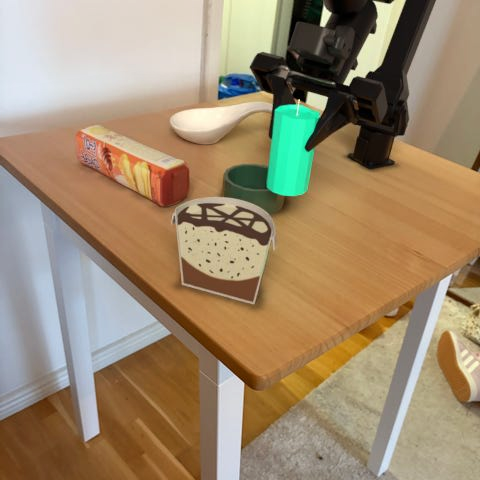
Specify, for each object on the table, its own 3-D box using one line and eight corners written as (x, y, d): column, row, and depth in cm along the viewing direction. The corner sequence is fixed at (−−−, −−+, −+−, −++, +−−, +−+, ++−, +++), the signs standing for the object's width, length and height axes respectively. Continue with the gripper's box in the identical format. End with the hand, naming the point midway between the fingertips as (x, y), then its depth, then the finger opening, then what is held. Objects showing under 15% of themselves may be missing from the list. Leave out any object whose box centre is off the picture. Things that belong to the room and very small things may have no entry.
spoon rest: (169, 149, 96) (169, 109, 92) (169, 126, 105) (169, 88, 101) (296, 155, 99) (302, 116, 95) (286, 132, 108) (291, 95, 104)
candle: (289, 200, 72) (302, 110, 64) (257, 184, 75) (266, 96, 67) (316, 188, 75) (332, 101, 68) (284, 173, 78) (296, 89, 71)
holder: (261, 183, 88) (263, 160, 86) (295, 208, 82) (299, 184, 80) (211, 193, 84) (212, 169, 82) (243, 220, 78) (245, 195, 76)
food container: (280, 280, 67) (291, 209, 61) (266, 308, 62) (277, 233, 56) (190, 257, 69) (192, 186, 63) (170, 281, 65) (170, 207, 58)
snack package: (74, 165, 88) (69, 125, 83) (106, 156, 92) (103, 116, 88) (160, 213, 78) (160, 169, 73) (192, 200, 82) (194, 158, 77)
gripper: (264, -19, 67) (207, 91, 67) (403, 8, 59) (339, 131, 59) (288, 41, 77) (239, 136, 77) (409, 70, 69) (355, 175, 69)
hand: (288, 143), depth 70 cm, fingers closed on candle, 5 cm apart
